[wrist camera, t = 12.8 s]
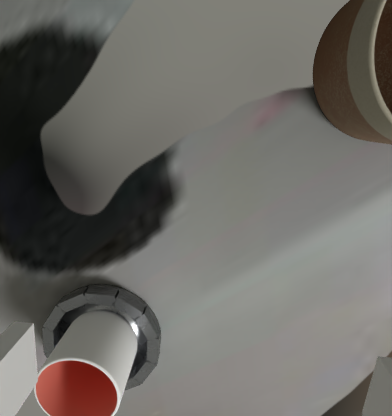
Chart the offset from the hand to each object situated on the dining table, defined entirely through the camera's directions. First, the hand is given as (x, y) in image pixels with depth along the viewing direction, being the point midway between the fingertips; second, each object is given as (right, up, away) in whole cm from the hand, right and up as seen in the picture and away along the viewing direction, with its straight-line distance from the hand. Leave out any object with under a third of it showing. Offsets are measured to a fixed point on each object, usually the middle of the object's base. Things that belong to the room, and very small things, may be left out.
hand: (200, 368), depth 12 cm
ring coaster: (-13, -12, +34) cm, 38 cm away
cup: (-13, -12, +34) cm, 38 cm away
